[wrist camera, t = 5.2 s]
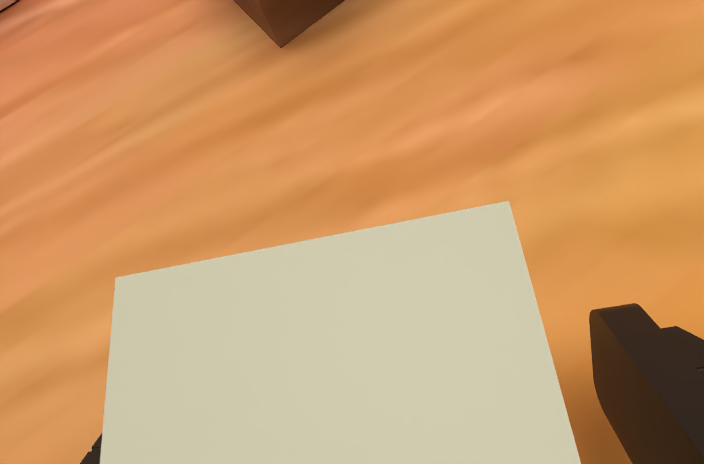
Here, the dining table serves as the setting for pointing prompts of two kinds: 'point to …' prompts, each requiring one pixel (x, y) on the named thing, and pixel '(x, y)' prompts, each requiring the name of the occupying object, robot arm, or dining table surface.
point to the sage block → (340, 353)
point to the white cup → (5, 3)
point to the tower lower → (286, 16)
